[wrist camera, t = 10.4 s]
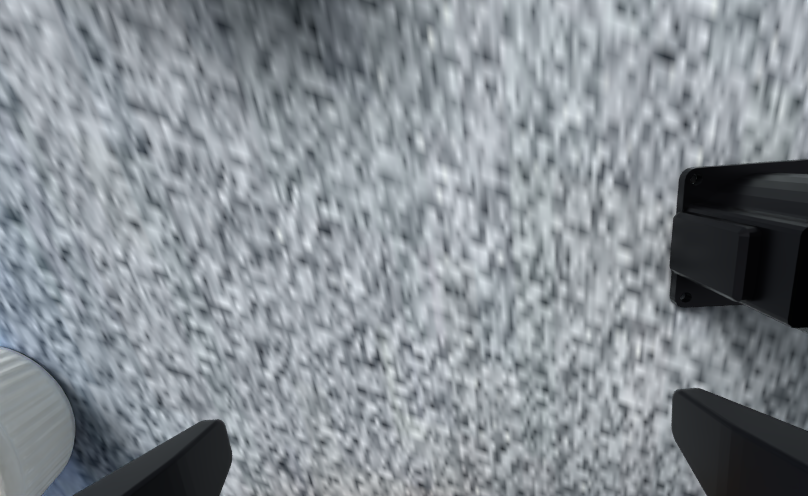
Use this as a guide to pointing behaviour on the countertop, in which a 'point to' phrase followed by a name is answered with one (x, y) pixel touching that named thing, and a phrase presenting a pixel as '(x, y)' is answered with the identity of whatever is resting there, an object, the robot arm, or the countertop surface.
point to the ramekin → (31, 426)
